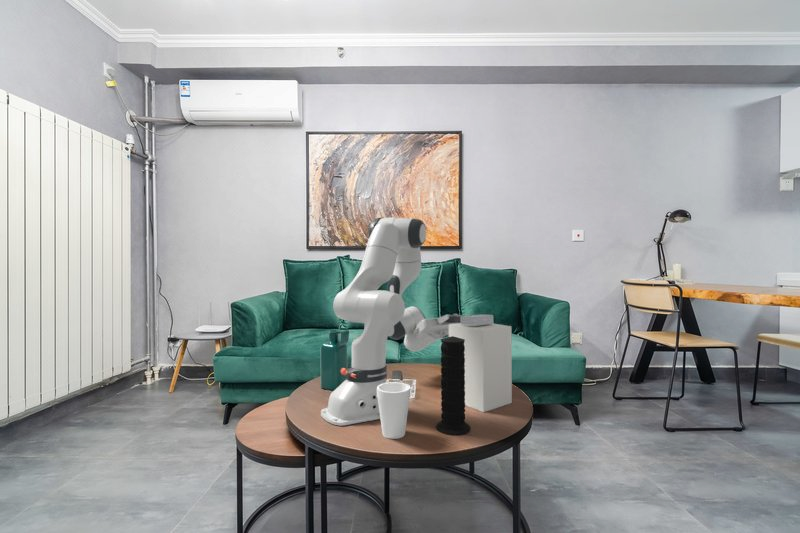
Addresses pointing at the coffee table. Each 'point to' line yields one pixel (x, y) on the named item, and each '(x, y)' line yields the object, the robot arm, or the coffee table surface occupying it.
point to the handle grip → (453, 387)
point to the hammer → (471, 320)
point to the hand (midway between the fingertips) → (452, 315)
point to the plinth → (486, 364)
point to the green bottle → (333, 359)
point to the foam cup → (393, 408)
